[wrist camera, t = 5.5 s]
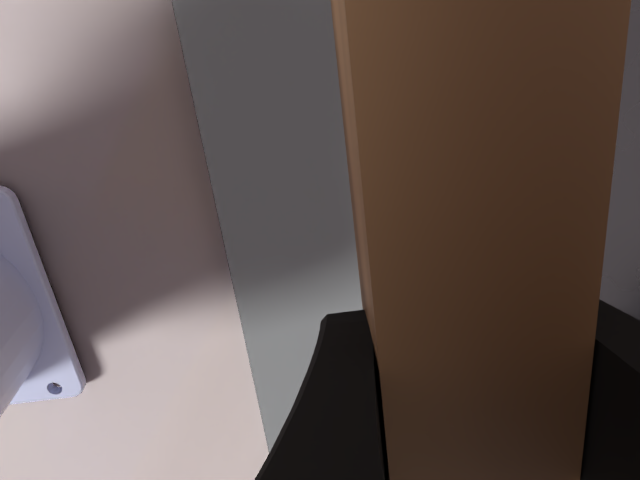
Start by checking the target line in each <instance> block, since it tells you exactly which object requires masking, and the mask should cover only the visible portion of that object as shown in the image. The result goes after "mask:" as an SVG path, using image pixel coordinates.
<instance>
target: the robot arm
mask: <svg viewBox="0 0 640 480" xmlns="http://www.w3.org/2000/svg"><path fill="white" fill-rule="evenodd" d="M52 383H57V384H59V385H60V386H61V387H57V386H55V385H53V384H52ZM85 385H86V379H85V376H84V373H83V371H82V368H81V365H80V363H79V360H78V357H77V355H76V352H75V349H74V347H73V344H72V341H71V339H70V336H69V333H68V331H67V328H66V325H65V323H64V320H63V317H62V315H61V312H60V309H59V307H58V304H57V302H56V299H55V296H54V294H53V291H52V288H51V286H50V283H49V280H48V278H47V275H46V272H45V270H44V267H43V264H42V262H41V259H40V256H39V254H38V251H37V248H36V246H35V243H34V240H33V238H32V235H31V232H30V230H29V227H28V224H27V222H26V219H25V216H24V214H23V211H22V208H21V206H20V203H19V200H18V198H17V196H16V195H15V193H14V192H13V191H11V190H10V189H9V188H6V187H4V186H0V417H1V415H2V414H3V412H4V411H5V410H6V408H7V407H8V405H11V404H19V403H28V402H36V401H44V400H52V399H61V398H69V397H75V396H78V395H79V394H81V393H82V391H83V389H84V387H85ZM255 480H386V471H385V461H384V451H383V440H382V430H381V420H380V410H379V399H378V389H377V379H376V369H375V358H374V348H373V340H372V336H371V332H370V328H369V324H368V320H367V317H366V313H365V310H356V311H348V312H340V313H332V314H327V315H326V316H325V317H324V318H323V319H322V320H321V323H320V330H319V335H318V339H317V343H316V346H315V349H314V353H313V356H312V358H311V361H310V364H309V367H308V370H307V372H306V375H305V377H304V380H303V382H302V385H301V387H300V390H299V392H298V394H297V397H296V399H295V402H294V404H293V406H292V409H291V411H290V413H289V415H288V417H287V419H286V421H285V423H284V425H283V427H282V429H281V431H280V433H279V435H278V437H277V439H276V441H275V443H274V445H273V447H272V449H271V451H270V453H269V455H268V457H267V459H266V461H265V462H264V464H263V466H262V468H261V469H260V471H259V473H258V475H257V477H256V478H255ZM580 480H640V320H638V319H636V318H634V317H632V316H631V315H629V314H627V313H625V312H623V311H621V310H619V309H617V308H615V307H613V306H612V305H610V304H608V303H606V302H604V301H602V300H600V299H599V307H598V316H597V326H596V335H595V344H594V354H593V363H592V372H591V382H590V391H589V400H588V410H587V419H586V428H585V438H584V447H583V456H582V466H581V475H580Z"/></svg>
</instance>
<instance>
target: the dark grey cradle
mask: <svg viewBox="0 0 640 480" xmlns="http://www.w3.org/2000/svg"><path fill="white" fill-rule="evenodd" d="M599 299H600V300H602V301H604V302H606V303H608V304H610V305H612V306H613V307H615V308H617V309H619V310H621V311H623V312H625V313H627V314H629V315H631V316H632V317H634V318H636V319H638V320H640V0H631V8H630V17H629V27H628V36H627V45H626V55H625V64H624V73H623V83H622V92H621V101H620V111H619V120H618V129H617V139H616V148H615V157H614V167H613V176H612V185H611V195H610V204H609V213H608V223H607V232H606V241H605V251H604V260H603V270H602V279H601V288H600V298H599Z"/></svg>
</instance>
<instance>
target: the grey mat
mask: <svg viewBox="0 0 640 480" xmlns="http://www.w3.org/2000/svg"><path fill="white" fill-rule="evenodd" d="M172 4H173V9H174V14H175V18H176V23H177V28H178V32H179V37H180V41H181V46H182V51H183V55H184V60H185V65H186V69H187V74H188V79H189V83H190V88H191V93H192V97H193V102H194V106H195V111H196V116H197V120H198V125H199V130H200V134H201V139H202V144H203V148H204V153H205V158H206V162H207V167H208V171H209V176H210V181H211V185H212V190H213V195H214V199H215V204H216V209H217V213H218V218H219V223H220V227H221V232H222V237H223V241H224V246H225V250H226V255H227V260H228V264H229V269H230V274H231V278H232V283H233V288H234V292H235V297H236V302H237V306H238V311H239V315H240V320H241V325H242V329H243V334H244V339H245V343H246V348H247V353H248V357H249V362H250V367H251V371H252V376H253V380H254V385H255V390H256V394H257V399H258V404H259V408H260V413H261V418H262V422H263V427H264V432H265V436H266V441H267V445H268V450H269V453H270V451H271V449H272V447H273V445H274V443H275V441H276V439H277V437H278V435H279V433H280V431H281V429H282V427H283V425H284V423H285V421H286V419H287V417H288V415H289V413H290V411H291V409H292V406H293V404H294V402H295V399H296V397H297V394H298V392H299V390H300V387H301V385H302V382H303V380H304V377H305V375H306V372H307V370H308V367H309V364H310V361H311V358H312V356H313V353H314V349H315V346H316V343H317V339H318V335H319V330H320V323H321V320H322V319H323V318H324V317H325V316H326V315H327V314H332V313H340V312H348V311H356V310H363V308H362V299H361V289H360V279H359V270H358V260H357V251H356V241H355V231H354V222H353V212H352V202H351V193H350V183H349V174H348V164H347V154H346V145H345V135H344V126H343V116H342V106H341V97H340V87H339V77H338V68H337V58H336V49H335V39H334V29H333V20H332V10H331V1H330V0H172Z"/></svg>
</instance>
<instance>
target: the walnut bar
mask: <svg viewBox="0 0 640 480" xmlns="http://www.w3.org/2000/svg"><path fill="white" fill-rule="evenodd" d="M330 1H331V10H332V20H333V29H334V39H335V49H336V58H337V68H338V77H339V87H340V97H341V106H342V116H343V126H344V135H345V145H346V154H347V164H348V174H349V183H350V193H351V202H352V212H353V222H354V231H355V241H356V251H357V260H358V270H359V279H360V289H361V299H362V308H363V310H365V313H366V317H367V320H368V324H369V328H370V332H371V336H372V340H373V348H374V358H375V369H376V379H377V389H378V399H379V410H380V420H381V430H382V440H383V451H384V461H385V471H386V480H580V475H581V466H582V456H583V447H584V438H585V428H586V419H587V410H588V400H589V391H590V382H591V372H592V363H593V354H594V344H595V335H596V326H597V316H598V307H599V298H600V288H601V279H602V270H603V260H604V251H605V241H606V232H607V223H608V213H609V204H610V195H611V185H612V176H613V167H614V157H615V148H616V139H617V129H618V120H619V111H620V101H621V92H622V83H623V73H624V64H625V55H626V45H627V36H628V27H629V17H630V8H631V0H330Z"/></svg>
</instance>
